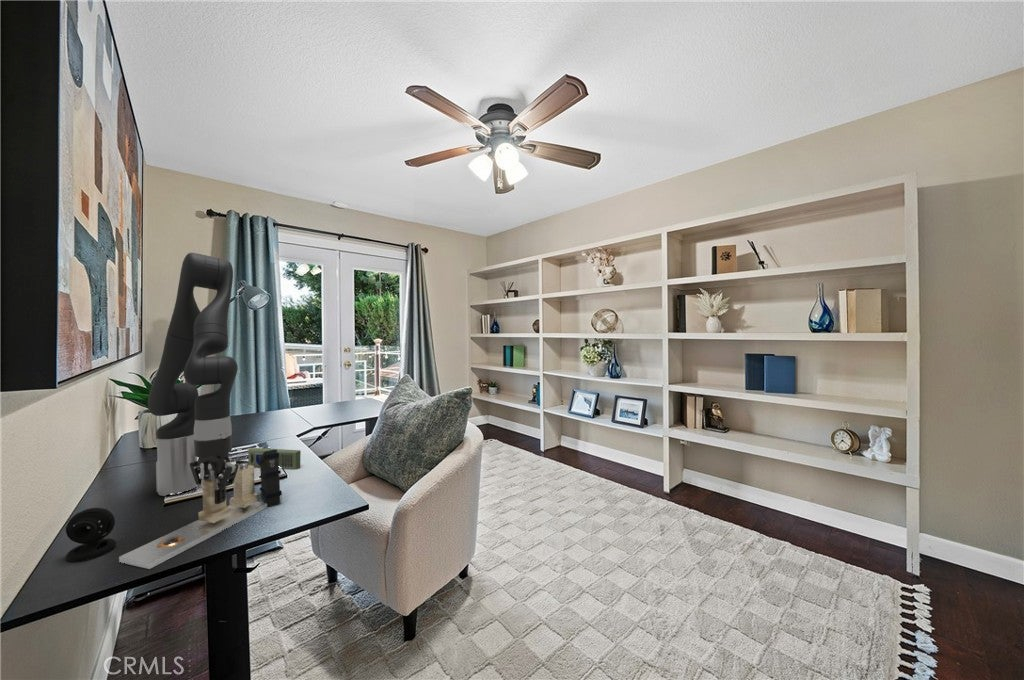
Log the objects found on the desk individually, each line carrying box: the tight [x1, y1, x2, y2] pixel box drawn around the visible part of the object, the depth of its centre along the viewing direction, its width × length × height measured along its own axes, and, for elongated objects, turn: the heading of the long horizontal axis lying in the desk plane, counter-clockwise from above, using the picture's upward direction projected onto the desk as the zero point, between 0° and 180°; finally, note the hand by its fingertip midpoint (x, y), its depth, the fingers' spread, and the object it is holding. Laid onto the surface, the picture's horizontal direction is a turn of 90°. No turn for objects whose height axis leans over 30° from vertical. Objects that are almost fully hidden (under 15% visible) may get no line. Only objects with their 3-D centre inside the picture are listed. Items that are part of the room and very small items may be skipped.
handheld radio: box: [235, 447, 302, 470], centre depth 137 cm, size 7×3×25 cm
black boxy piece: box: [258, 448, 283, 508], centre depth 111 cm, size 4×13×15 cm, turn 42°
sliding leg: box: [197, 475, 231, 523], centre depth 96 cm, size 5×4×12 cm
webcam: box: [65, 507, 117, 563], centre depth 84 cm, size 8×8×10 cm
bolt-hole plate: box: [118, 463, 268, 570], centre depth 93 cm, size 9×28×13 cm, turn 165°
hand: (214, 501), depth 96 cm, fingers closed on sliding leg, 3 cm apart
